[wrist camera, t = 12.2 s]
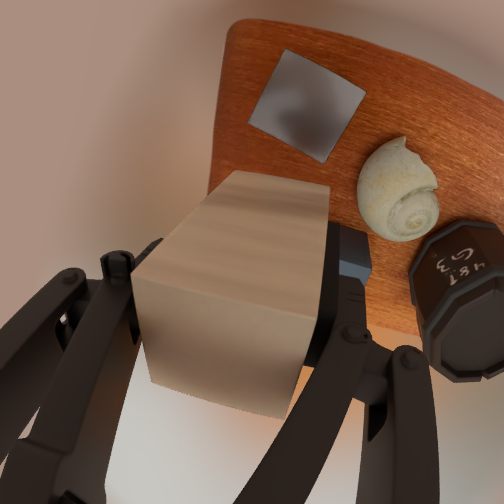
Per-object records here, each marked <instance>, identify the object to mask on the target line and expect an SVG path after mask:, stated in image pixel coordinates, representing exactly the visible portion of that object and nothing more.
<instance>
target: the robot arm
mask: <svg viewBox="0 0 504 504" xmlns="http://www.w3.org/2000/svg"><path fill="white" fill-rule="evenodd" d="M163 239H164V238H160V239H158V240H156V241H154V242H152V243H151V244H150V245H149V246H148V247H147V248H146V249H145V250H144V251H143V252H142V253H141V254H140V255H139V256H138V257H137V258H136V259H134V256H133V254H131V253H130V252H128V251H123V250H122V251H121V250H119V251H112V252H109V253H107V254H105V255H103V256H102V257H101V258H100V261H101V267H102V272H103V277H104V278H103V279H102V280H94V279H86V274H85V273H84V271H83V270H82V269H80V268H68V269H65V270H62V271H61V272H59V273H58V274H57V275H56V276H55V277H53V278H52V279H51V280H50V281H49V282H48V283H47V284H46V285H45V286H44V287H43V288H42V289H40V290H39V291H38V292H37V293H36V294H35V295H34V296H33V297H32V298H31V299H30V300H29V301H28V302H27V303H26V304H25V305H24V306H23V307H22V308H21V309H20V310H19V311H18V312H17V313H16V314H15V315H14V316H13V317H12V318H11V319H10V320H9V321H8V322H7V323H6V324H5V325H4V326H3V327H2V328H1V329H0V465H1V463H2V462H3V460H4V459H5V457H6V456H7V454H8V453H9V454H8V457H7V460H6V463H5V466H4V469H3V472H2V475H1V478H0V504H106V493H105V488H104V487H105V486H104V484H105V478H106V473H107V468H108V464H109V460H110V456H111V451H112V447H113V443H114V439H115V435H116V431H117V427H118V423H119V419H120V415H121V411H122V407H123V404H124V400H125V397H126V393H127V389H128V386H129V382H130V378H131V375H132V371H133V368H134V365H135V361H136V358H137V355H138V352H139V348H140V345H141V341H142V338H141V333H140V328H139V322H138V317H137V311H136V306H135V300H134V294H133V288H132V281H131V273H132V272H133V271H134V270H135V269H136V268H137V267H138V265H139V264H140V263H141V262H142V261H143V260H144V259H145V258H146V257H147V256H148V255H149V254H150V253H151V252H152V251H153V250H154V249H155V248H156V247H157V246H158V245H159V244H160V243H161V242H162V241H163ZM339 264H340V223H336V222H331V221H328V224H327V235H326V246H325V256H324V266H323V275H322V284H321V293H320V301H319V309H318V317H317V321H316V325H315V328H314V331H313V335H312V338H311V341H310V344H309V348H308V351H307V354H306V357H305V360H304V363H303V365H304V366H309V367H314V370H313V372H312V374H311V376H310V378H309V380H308V382H307V383H306V385H305V387H304V389H303V391H302V393H301V394H300V396H299V398H298V400H297V402H296V403H295V405H294V407H293V409H292V411H291V412H290V414H289V416H288V418H287V419H286V421H285V423H284V424H283V426H282V428H281V430H280V431H279V433H278V435H277V437H276V438H275V440H274V441H273V443H272V445H271V446H270V448H269V449H268V451H267V453H266V454H265V456H264V458H263V459H262V461H261V463H260V464H259V465H258V467H257V469H256V470H255V472H254V473H253V475H252V476H251V478H250V479H249V481H248V482H247V484H246V485H245V487H244V488H243V490H242V491H241V493H240V494H239V495H238V497H237V498H236V500H235V501H234V503H233V504H304V503H305V501H306V499H307V498H308V496H309V494H310V492H311V490H312V488H313V486H314V484H315V482H316V480H317V478H318V476H319V474H320V472H321V470H322V468H323V466H324V463H325V461H326V459H327V457H328V455H329V452H330V450H331V448H332V446H333V444H334V441H335V439H336V437H337V434H338V432H339V430H340V427H341V425H342V423H343V420H344V418H345V415H346V413H347V410H348V408H349V405H350V403H351V400H352V398H355V399H357V400H360V401H362V402H364V403H365V409H364V427H363V441H362V452H361V464H360V473H359V482H358V490H357V497H356V504H439V501H440V500H439V498H440V492H439V491H440V488H439V456H438V455H439V454H438V439H437V427H436V416H435V407H434V398H433V391H432V384H431V376H430V370H429V364H428V360H427V358H426V356H425V355H424V354H423V352H422V351H420V350H419V349H417V348H416V347H413V346H410V345H402V346H399V347H397V348H396V349H395V350H394V351H391V350H389V349H387V348H384V347H382V346H380V345H379V344H377V343H376V342H375V341H373V340H372V335H371V333H370V331H369V330H368V329H367V323H366V304H365V288H364V285H363V284H362V282H361V281H360V279H359V278H355V277H350V276H345V275H340V274H339ZM64 314H65V317H66V320H65V321H64V322H62V323H61V321H60V318H61V317H62V315H64ZM39 407H40V408H39ZM38 408H39V411H38V414H37V416H36V419H35V421H34V424H33V426H32V429H31V431H30V434H29V435H28V437H26V438H22V439H18V438H19V436H20V435H21V433H22V432H23V430H24V429H25V427H26V426H27V424H28V423H29V421H30V420H31V418H32V417H33V416H34V414H35V413H36V411H37V410H38ZM17 439H18V440H17Z"/></svg>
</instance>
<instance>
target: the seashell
mask: <svg viewBox="0 0 504 504" xmlns="http://www.w3.org/2000/svg"><path fill="white" fill-rule="evenodd" d="M405 143H406V137H405V136H401V137H398V138H395V139H393V140H391V141H388V142H387V143H385V144H383V145H382V146H380V147H379V148H378V149H376V151H375V152H374V153H373V154H372V155H371V156H370V157H369V158H368V159H367V161H366V162H365V164H364V166H363V167H362V170H361V172H360V175H359V178H358V184H357V202H358V208H359V211H360V214H361V216H362V218H363V220H364V221H365V223H366V224H367V225H368V226H369V227H370V228H371V229H372V230H373V231H374V232H375V233H376V234H378V235H379V236H381V237H383V238H385V239H388V240H391V241H396V242H405V241H410V240H414V239H417V238H419V237H421V236H423V235H425V234H426V233H427V232H429V231H430V230H431V229H432V228H433V227H434V225H435V224H436V222H437V220H438V217H439V202H438V199H437V197H436V195H435V194H434V192H433V189H438V185H437V181H436V176H435V175H434V173H433V172H432V170H431V169H430V168H429V166H428V165H425V164H424V163H423V161H422V160H421V159H420V156H419V155H418V154H416V153H412V152H411V151H410V150H408V149H407V148H406V147H405Z"/></svg>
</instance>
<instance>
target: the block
mask: <svg viewBox="0 0 504 504" xmlns="http://www.w3.org/2000/svg"><path fill="white" fill-rule="evenodd" d="M329 198H330V187H329V186H325V185H320V184H315V183H310V182H305V181H299V180H294V179H288V178H283V177H277V176H271V175H265V174H259V173H253V172H247V171H240V170H235V171H233V172H232V173H231V174H230V175H229V176H228V177H227V178H226V179H225V180H224V181H223V182H222V183H221V184H220V185H218V186H217V187H216V188H215V189H214V190H213V191H212V192H211V193H210V194H209V195H208V196H207V197H206V198H205V199H204V200H203V201H202V202H201V203H200V204H199V205H198V206H197V207H196V208H195V209H194V210H193V211H191V212H190V213H189V214H188V216H186V217H185V218H184V219H183V220H182V221H181V222H180V223H179V224H178V225H177V226H176V227H175V228H174V229H173V230H172V231H171V232H170V234H168V235H167V236H166V237H165V238H164V239H163V241H162V242H161V243H160V244H159V245H158V246H157V247H156V248H155V249H154V250H153V251H152V252H151V253H150V254H149V255H148V256H147V257H146V258H145V259H144V260H143V261H142V262H141V263H140V264H139V265H138V267H137V268H136V269H135V270H134V271H133V272H132V273H131V281H132V288H133V294H134V300H135V306H136V311H137V317H138V322H139V328H140V333H141V338H142V343H143V347H144V352H145V357H146V361H147V366H148V370H149V374H150V379H151V382H152V383H155V384H158V385H160V386H163V387H166V388H169V389H172V390H175V391H178V392H181V393H184V394H187V395H190V396H194V397H197V398H200V399H203V400H206V401H210V402H213V403H217V404H220V405H224V406H228V407H231V408H235V409H239V410H243V411H246V412H251V413H255V414H259V415H263V416H267V417H272V418H276V419H281V420H284V419H285V416H286V413H287V410H288V408H289V404H290V402H291V399H292V396H293V393H294V390H295V387H296V384H297V381H298V379H299V375H300V372H301V369H302V366H303V363H304V360H305V357H306V354H307V351H308V348H309V344H310V341H311V338H312V335H313V331H314V328H315V325H316V321H317V317H318V309H319V301H320V293H321V284H322V275H323V266H324V256H325V246H326V235H327V224H328V211H329Z"/></svg>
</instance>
